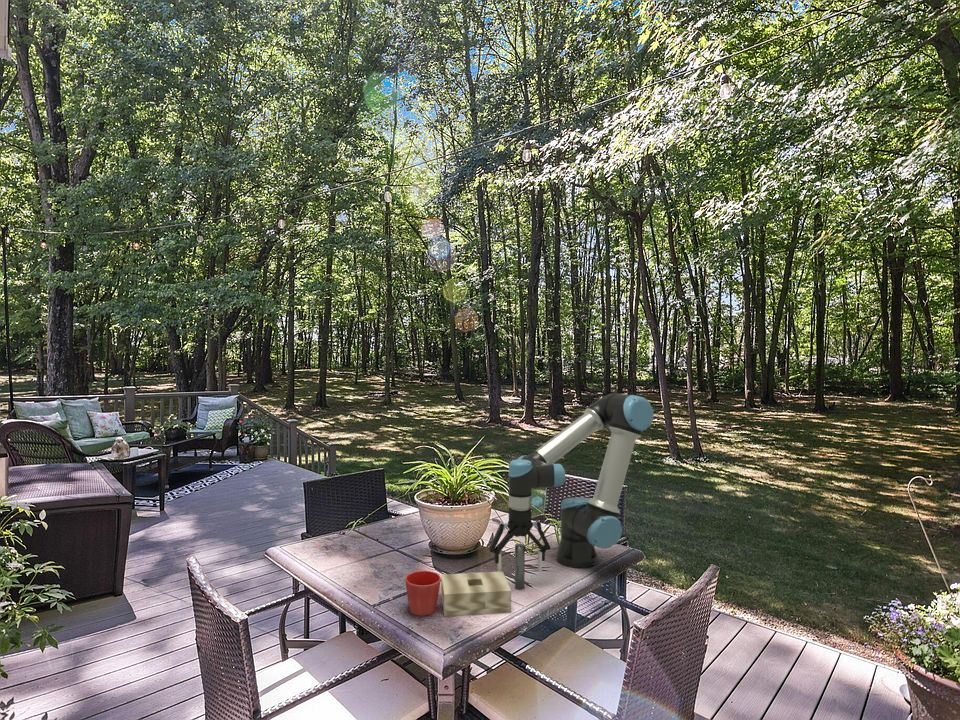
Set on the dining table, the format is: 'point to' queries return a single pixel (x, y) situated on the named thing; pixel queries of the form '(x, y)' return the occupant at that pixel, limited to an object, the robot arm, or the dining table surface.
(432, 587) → the flower pot
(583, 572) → the dining table surface
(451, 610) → the block
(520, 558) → the pin
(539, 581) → the dining table surface
